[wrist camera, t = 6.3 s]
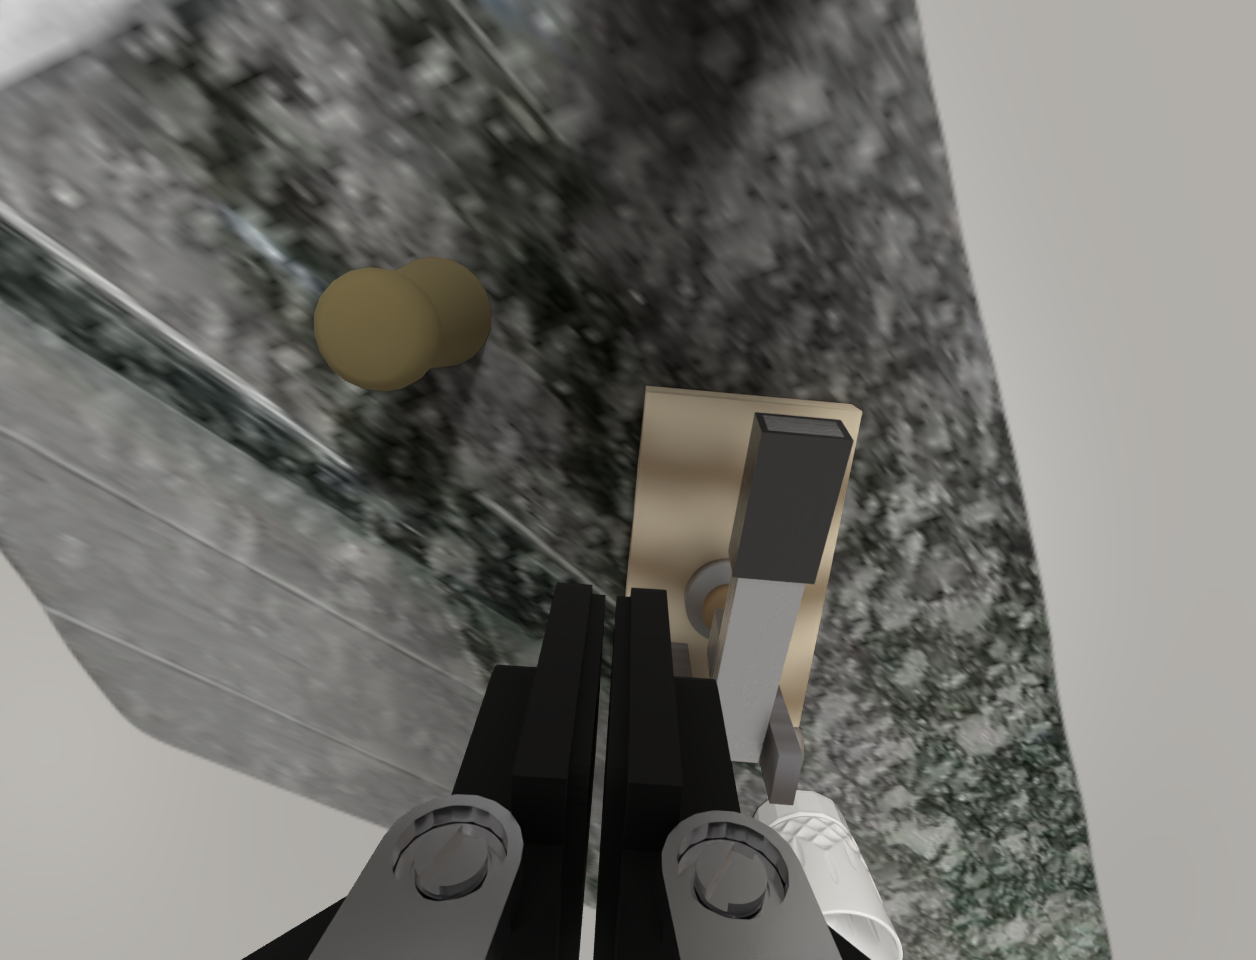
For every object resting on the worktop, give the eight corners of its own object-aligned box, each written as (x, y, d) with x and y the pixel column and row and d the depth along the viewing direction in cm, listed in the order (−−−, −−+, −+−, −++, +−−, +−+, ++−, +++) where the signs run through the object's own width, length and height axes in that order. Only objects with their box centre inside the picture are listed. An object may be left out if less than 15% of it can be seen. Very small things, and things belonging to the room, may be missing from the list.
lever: (748, 394, 30) (761, 432, 26) (829, 401, 30) (853, 440, 26) (691, 703, 39) (696, 762, 35) (753, 708, 39) (764, 767, 36)
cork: (496, 366, 39) (445, 406, 29) (391, 368, 39) (303, 409, 29) (487, 255, 37) (429, 255, 27) (377, 257, 37) (277, 258, 27)
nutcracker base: (645, 385, 39) (650, 435, 28) (851, 404, 39) (934, 460, 29) (615, 693, 46) (609, 830, 35) (791, 707, 46) (840, 848, 35)
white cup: (721, 840, 50) (741, 978, 40) (781, 764, 48) (818, 891, 38) (810, 882, 51) (850, 1025, 41) (873, 810, 49) (930, 944, 39)
